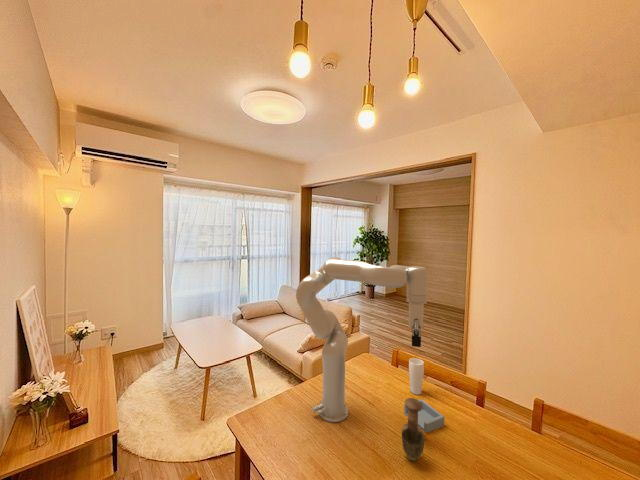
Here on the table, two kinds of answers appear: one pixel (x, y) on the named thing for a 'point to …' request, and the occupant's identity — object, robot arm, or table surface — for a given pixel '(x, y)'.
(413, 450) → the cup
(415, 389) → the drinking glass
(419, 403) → the bobbin
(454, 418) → the table surface
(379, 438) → the table surface
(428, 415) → the open box
